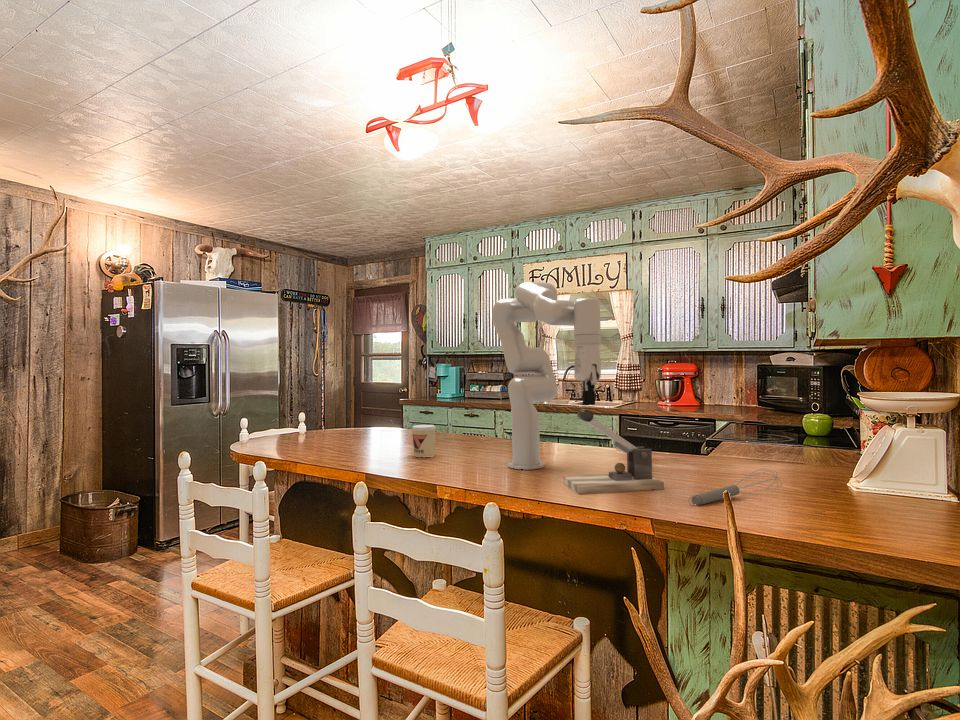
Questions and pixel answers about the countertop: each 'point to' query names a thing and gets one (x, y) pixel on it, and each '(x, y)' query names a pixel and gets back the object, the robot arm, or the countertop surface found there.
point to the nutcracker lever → (606, 431)
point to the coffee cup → (424, 440)
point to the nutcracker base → (608, 484)
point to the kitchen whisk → (732, 489)
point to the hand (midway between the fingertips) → (589, 404)
